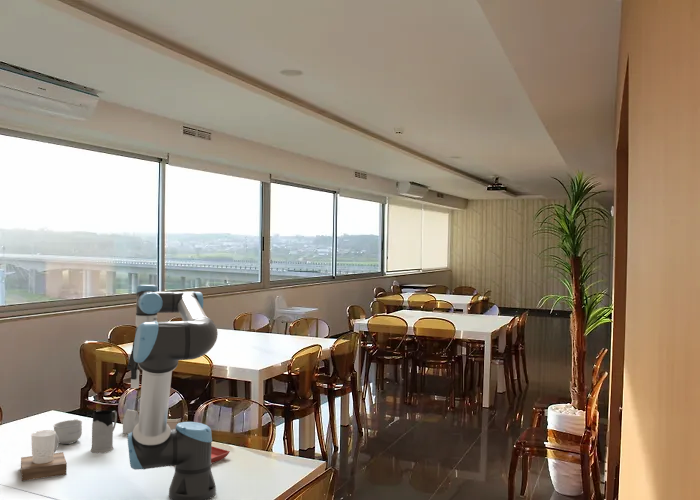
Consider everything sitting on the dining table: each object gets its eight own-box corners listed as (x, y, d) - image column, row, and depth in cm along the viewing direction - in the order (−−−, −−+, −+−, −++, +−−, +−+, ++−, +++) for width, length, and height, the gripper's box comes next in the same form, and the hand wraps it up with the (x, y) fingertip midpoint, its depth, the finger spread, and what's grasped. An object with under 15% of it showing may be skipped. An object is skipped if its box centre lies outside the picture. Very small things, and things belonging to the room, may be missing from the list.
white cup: (31, 458, 223) (31, 431, 223) (55, 456, 226) (55, 429, 226) (30, 465, 215) (30, 437, 216) (54, 462, 219) (55, 435, 219)
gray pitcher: (85, 452, 243) (86, 414, 244) (106, 441, 257) (106, 406, 258) (105, 453, 242) (106, 416, 242) (125, 443, 256) (125, 407, 256)
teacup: (70, 446, 250) (71, 427, 250) (47, 444, 252) (47, 425, 252) (91, 437, 263) (92, 418, 263) (69, 435, 265) (69, 416, 266)
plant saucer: (230, 459, 240) (230, 450, 240) (195, 472, 225) (196, 463, 225) (198, 450, 250) (198, 442, 250) (163, 462, 235) (163, 453, 235)
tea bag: (133, 435, 268) (133, 412, 268) (122, 432, 271) (123, 410, 271) (139, 433, 271) (140, 410, 271) (129, 430, 274) (129, 408, 274)
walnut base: (66, 474, 219) (66, 463, 219) (22, 481, 212) (22, 469, 212) (62, 462, 231) (63, 452, 231) (20, 468, 224) (21, 457, 224)
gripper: (137, 330, 212) (135, 392, 211) (172, 323, 236) (171, 378, 236) (117, 330, 213) (116, 390, 213) (154, 322, 238) (153, 377, 237)
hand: (144, 384), depth 224 cm, fingers open, 13 cm apart
